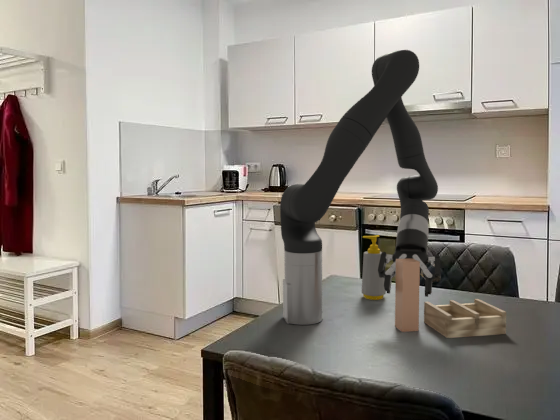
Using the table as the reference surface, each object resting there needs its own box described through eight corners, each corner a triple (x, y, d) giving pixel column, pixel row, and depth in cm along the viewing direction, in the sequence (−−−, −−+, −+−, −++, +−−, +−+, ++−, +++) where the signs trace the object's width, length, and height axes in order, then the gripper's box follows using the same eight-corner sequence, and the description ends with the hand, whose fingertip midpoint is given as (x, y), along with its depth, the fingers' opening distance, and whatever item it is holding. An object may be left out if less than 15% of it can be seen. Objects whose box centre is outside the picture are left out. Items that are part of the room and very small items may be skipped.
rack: (447, 338, 104) (447, 315, 103) (423, 322, 114) (424, 301, 114) (505, 333, 106) (506, 311, 105) (477, 318, 117) (478, 298, 116)
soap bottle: (356, 295, 139) (357, 234, 138) (378, 293, 141) (378, 233, 140) (368, 301, 133) (368, 237, 131) (390, 299, 135) (391, 236, 133)
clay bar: (402, 332, 108) (403, 262, 106) (394, 326, 112) (395, 258, 110) (418, 330, 108) (419, 261, 107) (411, 325, 112) (412, 258, 111)
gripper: (381, 226, 118) (373, 282, 109) (442, 228, 113) (439, 287, 104) (384, 244, 124) (377, 299, 114) (442, 247, 119) (440, 304, 109)
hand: (407, 293), depth 109 cm, fingers open, 8 cm apart
